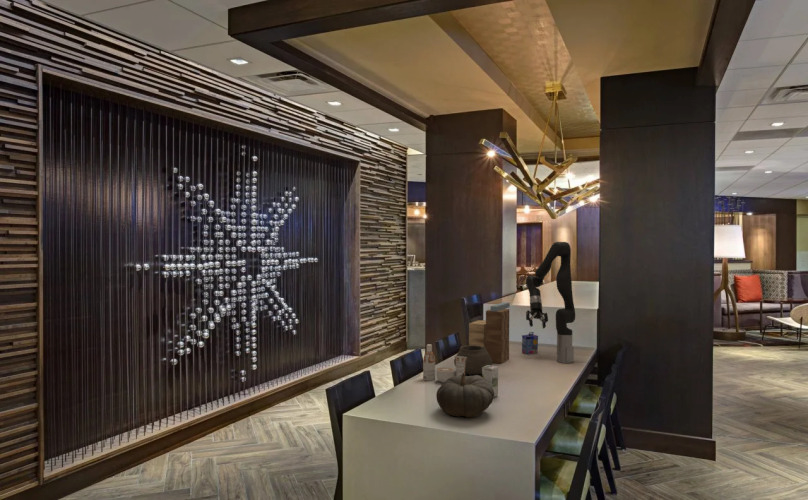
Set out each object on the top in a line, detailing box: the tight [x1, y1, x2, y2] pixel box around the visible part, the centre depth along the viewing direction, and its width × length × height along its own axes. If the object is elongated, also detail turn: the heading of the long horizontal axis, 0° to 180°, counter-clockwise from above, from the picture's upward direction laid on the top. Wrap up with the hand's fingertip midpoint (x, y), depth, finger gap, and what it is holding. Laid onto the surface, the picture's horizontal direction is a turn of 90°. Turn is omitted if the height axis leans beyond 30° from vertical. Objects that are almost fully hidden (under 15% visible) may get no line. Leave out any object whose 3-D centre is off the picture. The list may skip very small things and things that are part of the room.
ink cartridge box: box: [521, 331, 539, 355], centre depth 364 cm, size 10×6×14 cm, turn 115°
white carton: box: [481, 364, 499, 398], centre depth 260 cm, size 6×6×14 cm
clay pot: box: [453, 344, 493, 376], centre depth 305 cm, size 22×21×15 cm
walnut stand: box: [485, 308, 510, 365], centre depth 340 cm, size 16×10×32 cm, turn 152°
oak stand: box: [468, 319, 486, 348], centre depth 355 cm, size 18×10×22 cm, turn 152°
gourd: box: [436, 373, 495, 418], centre depth 234 cm, size 25×25×17 cm
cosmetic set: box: [422, 343, 467, 384], centre depth 288 cm, size 25×9×19 cm, turn 61°
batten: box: [490, 301, 510, 312], centre depth 344 cm, size 26×4×3 cm, turn 152°
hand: (537, 327), depth 346 cm, fingers open, 8 cm apart
